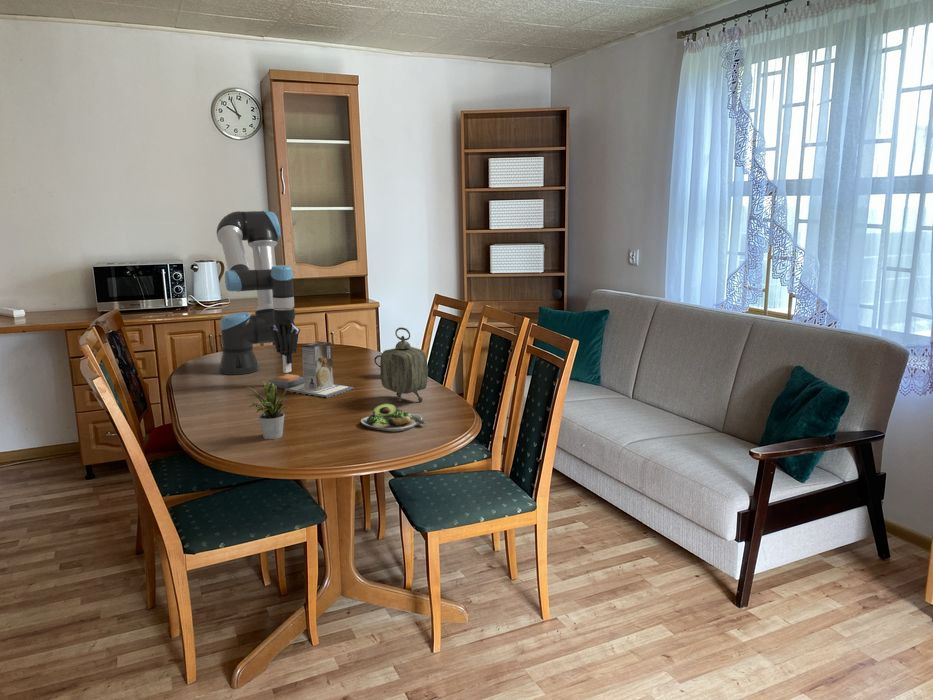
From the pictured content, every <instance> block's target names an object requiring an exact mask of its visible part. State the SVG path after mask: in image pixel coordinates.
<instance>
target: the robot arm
mask: <svg viewBox="0 0 933 700" xmlns="http://www.w3.org/2000/svg"><path fill="white" fill-rule="evenodd" d="M281 236H282V234H281V225H280V222H279V219H278V217H277V214H275V213H274V212H273V211H266V210H258V211H257V210H256V211H255V210H254V211H253V210H252V211H251V210H250V211H239V210H237V211H233V212H230V213H228V214H226V215H225V216H224V217H222V219H220V221H219V223H218V224H217V227H216V237H217V241H218V242H219V243H220V244H221V246H222V251H223V254H224V258H225V262H226V267H227V270H226V271H225V272H224V284H225V289H226V291H228V292H239V293H240V292H249V291H250V292H251V291H256V294H257V295H256V296H257V304H258V306H257V308H256V309H255V310H254V314H253V315H252V314H251V312H249V311H241V312H234V313H230V314H227V315H224V316H222V318H220V331H221V332H220V335H221V347H222V348H221V349H222V354H221V358H220V363H219V367H218V368H219V369H218V371H219V373H220V374H222V375H227V376H228V375H229V376H230V375H235V376H236V375H245V374H252V373H255V372H257V371H259V370H260V369H259V363H258V360H257V357H256V355H255V353H254V348H253V346H254V345H256V344H258V345H259V344H272V343H274V347H275V351H276V353H279V354H280V355H281V363H282V372H283V373H285V374H289V373H290V372H292V363H293V354H296V353H297V348H298V340H299V334H300V331H301V329H300V328H297V327H296V325H295V324H296V323H295V321H294V320H295V318H296V309H295V297H294V296H295V293H294V272H293V267H292V266H291V265H286V264H278V265H277V264H276V255H275V254H276V253H275V247H276V246H277V245H278V241H279V240H280V239H281ZM243 241H247V246H249V248H251V249H252V257H253V267H254V269H251V268H250V265H249V261H248V258H247V254H246V251H245V248H244V245H243V244H244V243H243Z"/></svg>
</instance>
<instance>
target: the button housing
mask: <svg viewBox="0 0 933 700" xmlns="http://www.w3.org/2000/svg"><path fill="white" fill-rule="evenodd" d="M270 382H271V386H272V382H274V383H273V384H274V387H275V385H276V386H277V387H278V388H277V389H282V388H285V389H286V388H289V387H293V386H296V385H299V384H303V383H304V378H303V376H299V379H295V380H292V381H282V380H277V377H275V378H272V379H269V383H270Z"/></svg>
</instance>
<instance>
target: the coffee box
mask: <svg viewBox="0 0 933 700" xmlns="http://www.w3.org/2000/svg"><path fill="white" fill-rule="evenodd" d="M332 350H333V349H332V342H329V341H327V342H326V341H320V340H319V341H315V342H310V343H306V344H302V345H301V358H302V359H301V361H302V374H303V376H302V377H303V378H304V389H306V390H313V391H319V390H322V389H325V388H328V387H330V386H333V385H334V384H335V383H334V369H333V368H334V367H333V351H332Z"/></svg>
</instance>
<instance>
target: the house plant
mask: <svg viewBox="0 0 933 700" xmlns="http://www.w3.org/2000/svg"><path fill="white" fill-rule="evenodd" d="M262 382H263V383H262V384H263V386H264V387H263V388H264V396H265V399H264V397H262V396H261V395H260V394H259V392H258V391H257V390H255V389H254V388H251V387H249V386H247V388H249V389H250V390H252V391H253V392H254V393H253V392H251V394H253V395H250V396H254V397H255V398H257V400H259V401H260V402H256V403H254V402H253V401H245V402H246V403H247V402H248V403H251V405H249V406H248V408H247V409H249V408H252V407H255V408H257V410H256V413H258V412H261V414H259V415H258V419H259V420H258V421H259V424H260V428H261V433H262V437H263V439H265V440H277V439H280V438H282V437H283V432H284V424H285V423H284V421H285V413H284V412H282V411H283V410H284V409H286V408H287V406H284V403H282V402H284V401H285V400H291V398H283V396H284V395H285V394H286V393H288V392H287V391H286V390H287V389H286V390H284V392H283V393H282V394H281V395H280V397H279V398H278V399H277V397H278V396H277V395H278V388H277V386H276V385H275V387H274V384H273V383H274V382H272V386H271V382H270V381H269V383H268V384H267V382H266V381H265V380H262ZM290 390H291V389H290ZM246 394H248V395H249V392H248V393H246ZM282 398H283V399H282ZM262 405H263V406H262ZM283 406H284V407H283ZM288 408H289V409H290V406H288Z"/></svg>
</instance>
